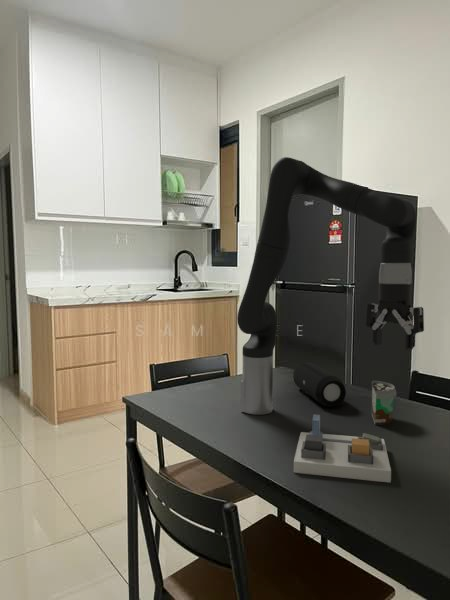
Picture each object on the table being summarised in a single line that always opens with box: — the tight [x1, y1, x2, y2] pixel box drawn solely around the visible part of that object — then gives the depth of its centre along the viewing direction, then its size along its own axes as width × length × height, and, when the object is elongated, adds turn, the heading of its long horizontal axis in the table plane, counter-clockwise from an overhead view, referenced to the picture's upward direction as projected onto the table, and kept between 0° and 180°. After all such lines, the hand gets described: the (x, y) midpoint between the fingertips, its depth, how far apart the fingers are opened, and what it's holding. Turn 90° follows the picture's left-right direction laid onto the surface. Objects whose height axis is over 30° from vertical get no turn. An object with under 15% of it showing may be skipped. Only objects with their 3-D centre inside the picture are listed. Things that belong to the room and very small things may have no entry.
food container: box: [371, 380, 398, 426], centre depth 135 cm, size 12×6×10 cm, turn 168°
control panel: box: [293, 431, 392, 483], centre depth 108 cm, size 20×18×4 cm
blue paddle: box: [309, 414, 324, 436], centre depth 114 cm, size 3×4×5 cm
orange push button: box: [352, 438, 369, 455], centre depth 103 cm, size 4×4×2 cm
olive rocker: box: [361, 432, 380, 445], centre depth 111 cm, size 4×3×1 cm
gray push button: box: [305, 434, 323, 451], centre depth 106 cm, size 4×4×2 cm
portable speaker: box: [293, 361, 347, 408], centre depth 158 cm, size 26×10×10 cm, turn 11°
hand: (393, 347), depth 117 cm, fingers open, 8 cm apart
